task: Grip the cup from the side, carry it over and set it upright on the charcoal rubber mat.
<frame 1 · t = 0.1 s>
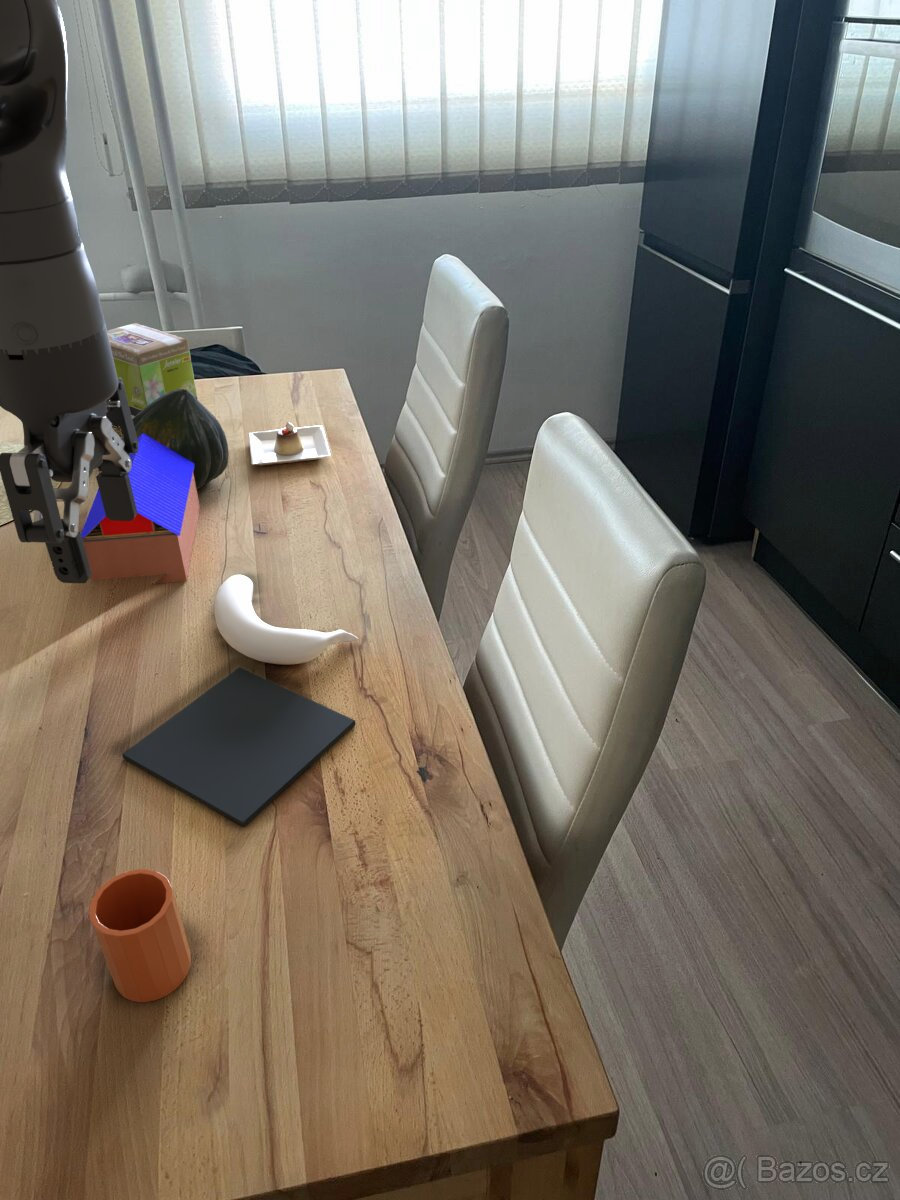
hand: (100, 548, 66), 28 cm above the table, tool pointing down, fingers open, 8 cm apart
dessert: (289, 451, 146), on the table
house: (150, 546, 122), on the table
cup: (152, 967, 70), on the table
banana: (282, 625, 107), on the table
tea box: (153, 423, 156), on the table
mat: (241, 741, 91), on the table
squash: (182, 484, 137), on the table
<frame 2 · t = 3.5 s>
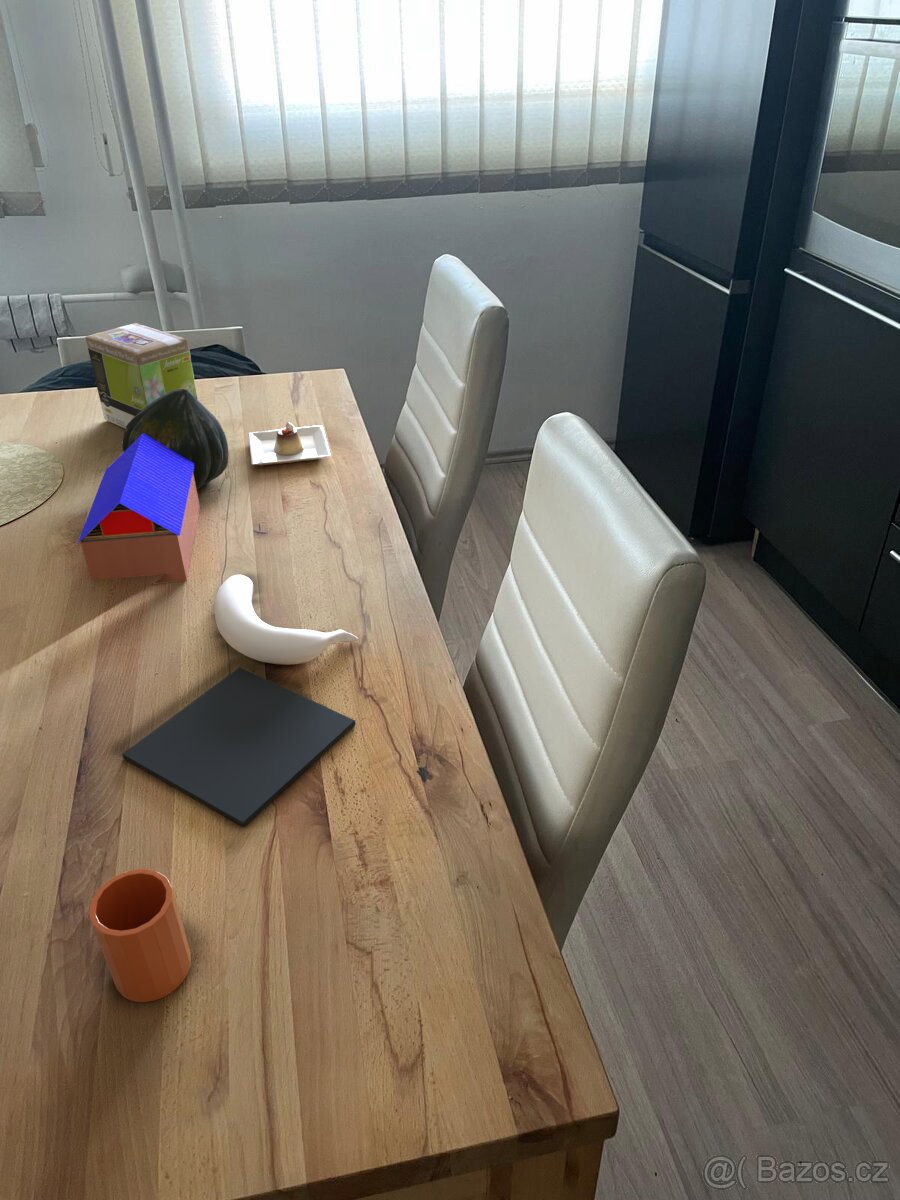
nothing on the table moved.
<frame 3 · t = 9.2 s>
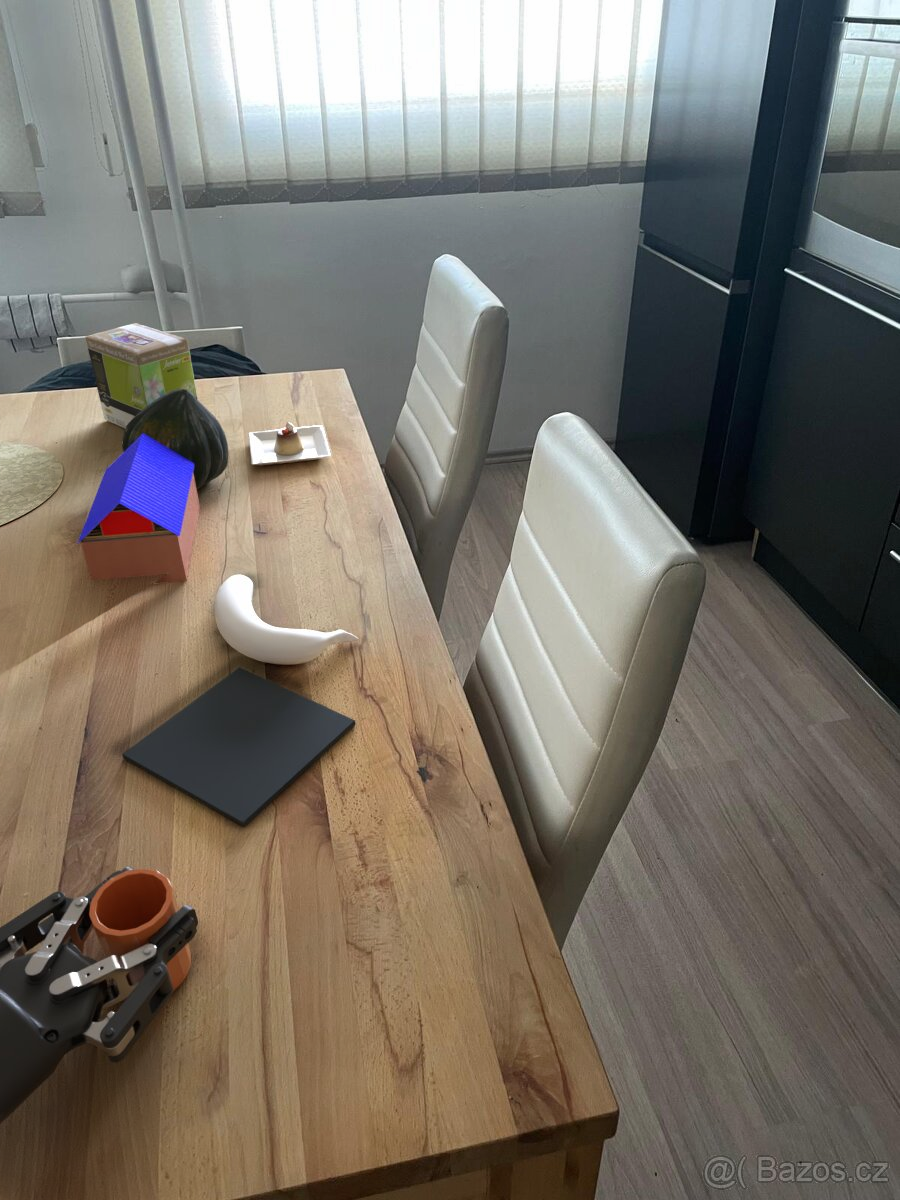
hand: (162, 894, 68), 6 cm above the table, tool horizontal, fingers closed on cup, 5 cm apart
cup: (153, 967, 70), on the table, touching gripper
everything else where it was.
when the fingers open (7 cm above the table, at t = 18.5 s): cup stays where it is, resting on mat.
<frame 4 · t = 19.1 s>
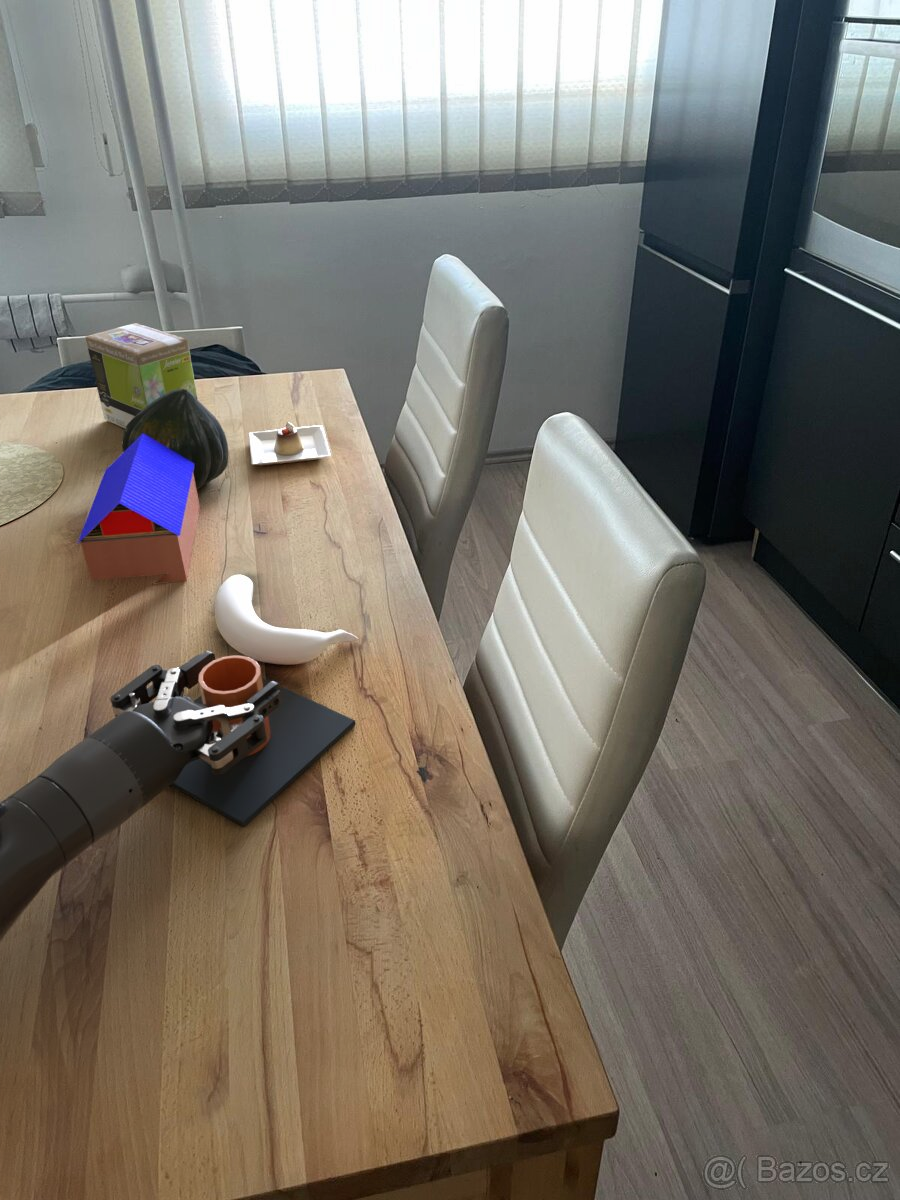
hand: (244, 673, 88), 7 cm above the table, tool horizontal, fingers open, 8 cm apart
cup: (241, 737, 90), point 1 cm above the table, touching mat
everything else where it was.
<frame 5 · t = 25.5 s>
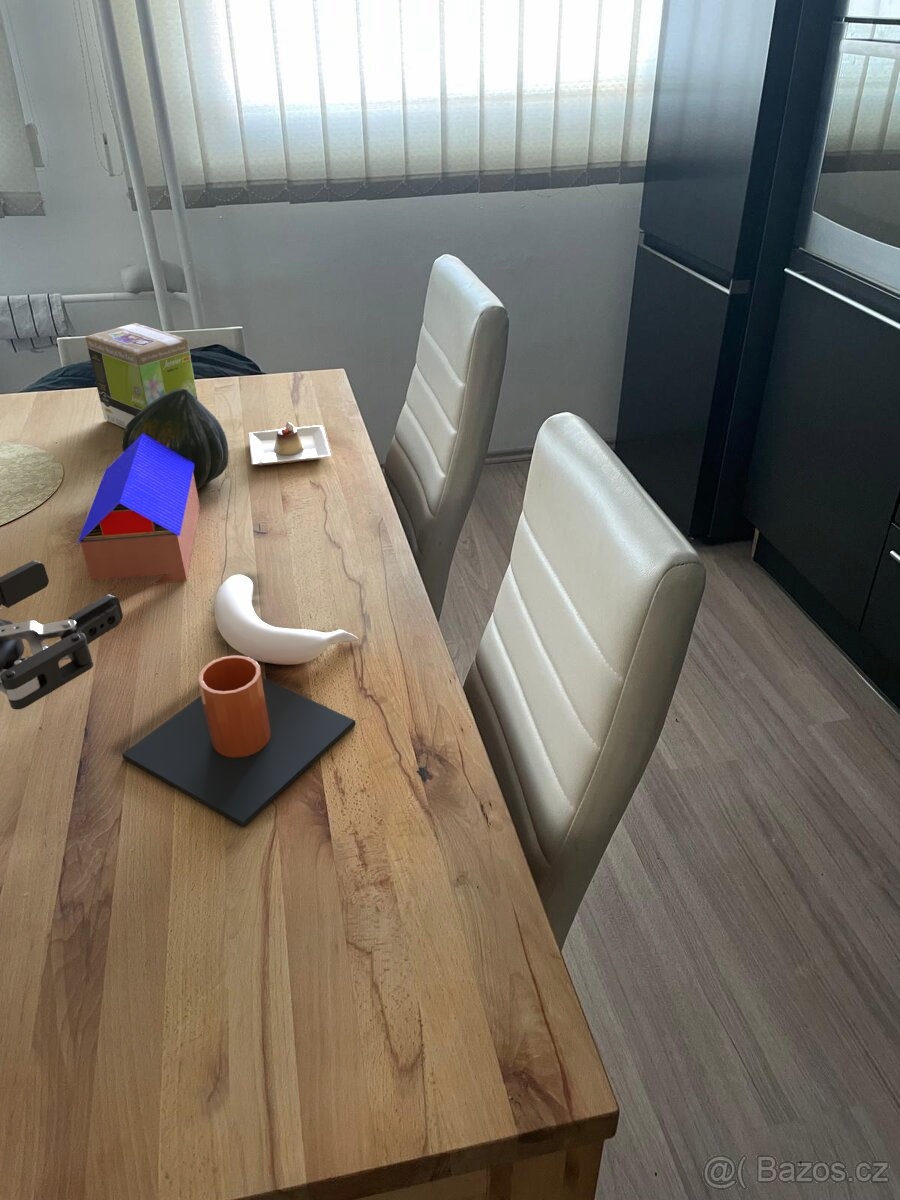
hand: (79, 588, 68), 25 cm above the table, tool horizontal, fingers open, 8 cm apart
nothing on the table moved.
at the end: cup inside the target area on the mat (0.1 cm from its centre), point 0.6 cm above the mat's base; cup tilted 0°; cup moved 25.0 cm from its start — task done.
